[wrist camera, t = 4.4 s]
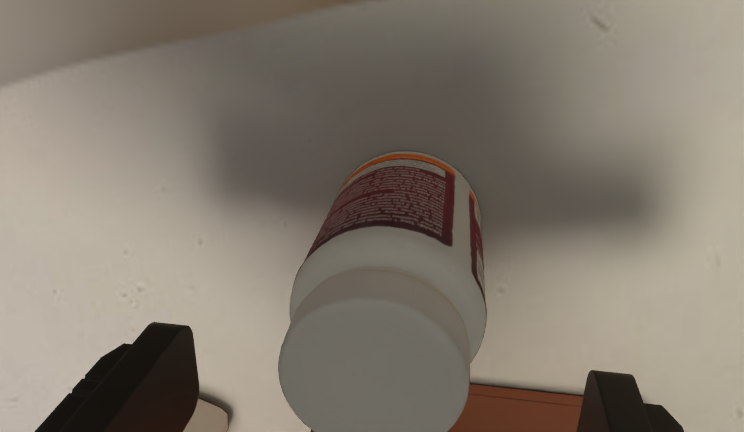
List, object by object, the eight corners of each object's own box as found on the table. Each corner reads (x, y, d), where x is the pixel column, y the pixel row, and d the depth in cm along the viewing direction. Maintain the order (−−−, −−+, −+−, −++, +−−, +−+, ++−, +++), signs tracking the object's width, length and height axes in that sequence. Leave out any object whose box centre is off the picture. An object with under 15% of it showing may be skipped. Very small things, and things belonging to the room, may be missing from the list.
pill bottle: (307, 213, 21) (213, 371, 13) (408, 116, 19) (367, 235, 11) (407, 305, 22) (372, 503, 14) (512, 222, 20) (538, 396, 12)
